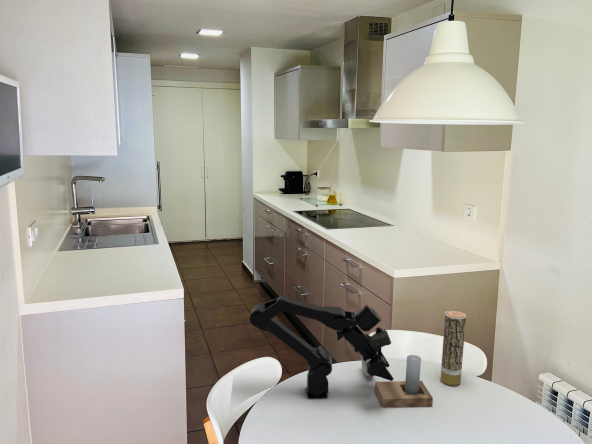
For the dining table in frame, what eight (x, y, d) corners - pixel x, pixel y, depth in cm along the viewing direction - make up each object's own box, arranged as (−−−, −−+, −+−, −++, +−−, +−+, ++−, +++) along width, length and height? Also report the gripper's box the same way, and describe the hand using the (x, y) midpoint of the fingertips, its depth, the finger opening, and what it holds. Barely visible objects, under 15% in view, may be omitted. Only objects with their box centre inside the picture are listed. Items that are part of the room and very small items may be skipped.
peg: (409, 402, 159) (412, 362, 157) (401, 395, 163) (404, 356, 161) (421, 399, 161) (423, 359, 158) (412, 393, 165) (415, 354, 162)
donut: (376, 381, 172) (377, 354, 170) (366, 382, 172) (367, 355, 170) (369, 368, 182) (370, 342, 180) (360, 368, 182) (361, 343, 180)
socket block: (382, 407, 156) (383, 399, 155) (374, 389, 167) (375, 381, 166) (432, 406, 157) (432, 397, 156) (421, 388, 168) (421, 380, 167)
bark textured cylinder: (461, 387, 169) (467, 318, 165) (441, 385, 170) (446, 316, 166) (459, 378, 176) (464, 311, 171) (439, 376, 177) (444, 309, 173)
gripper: (380, 335, 149) (414, 371, 150) (373, 313, 167) (404, 345, 169) (352, 358, 151) (387, 393, 152) (349, 334, 169) (380, 365, 170)
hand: (390, 373), depth 161 cm, fingers open, 9 cm apart
